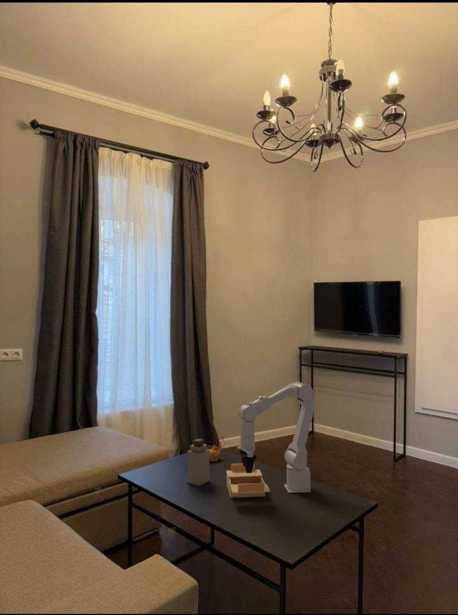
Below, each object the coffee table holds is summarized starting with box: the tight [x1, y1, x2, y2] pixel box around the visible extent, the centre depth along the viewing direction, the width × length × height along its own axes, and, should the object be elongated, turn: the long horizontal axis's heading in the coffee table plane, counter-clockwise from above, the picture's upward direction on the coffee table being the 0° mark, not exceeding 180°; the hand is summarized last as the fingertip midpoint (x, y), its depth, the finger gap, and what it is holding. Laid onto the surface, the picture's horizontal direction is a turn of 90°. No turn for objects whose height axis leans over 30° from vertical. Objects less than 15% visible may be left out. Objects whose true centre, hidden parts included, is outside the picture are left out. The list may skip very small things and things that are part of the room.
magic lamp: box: [208, 435, 226, 462], centre depth 219 cm, size 7×18×11 cm, turn 125°
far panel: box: [225, 462, 263, 478], centre depth 185 cm, size 14×7×3 cm, turn 96°
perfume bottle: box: [186, 438, 210, 487], centre depth 190 cm, size 7×7×18 cm
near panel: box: [230, 482, 271, 493], centre depth 169 cm, size 14×7×3 cm, turn 96°
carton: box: [226, 475, 266, 499], centre depth 181 cm, size 14×14×5 cm
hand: (247, 469), depth 176 cm, fingers open, 7 cm apart
